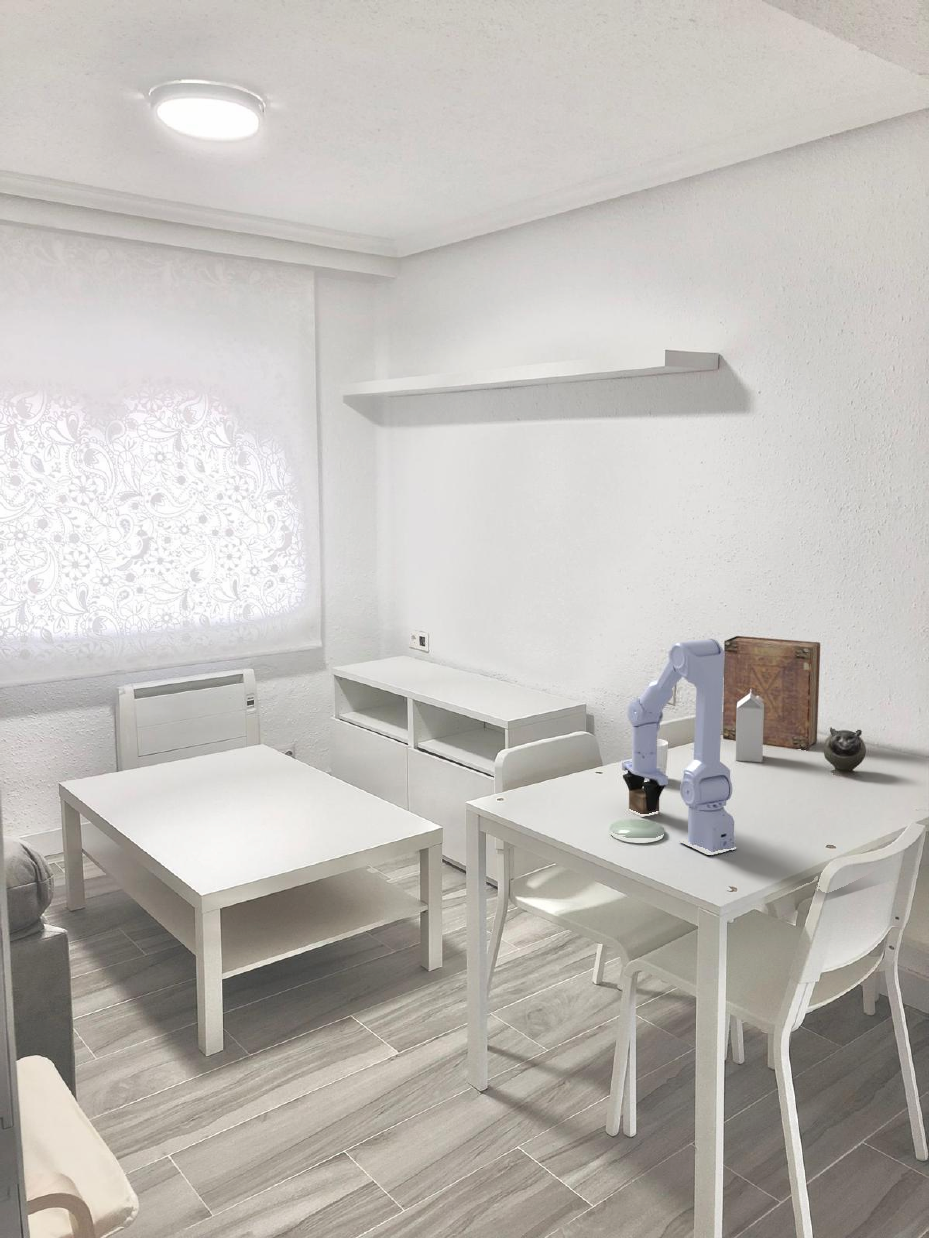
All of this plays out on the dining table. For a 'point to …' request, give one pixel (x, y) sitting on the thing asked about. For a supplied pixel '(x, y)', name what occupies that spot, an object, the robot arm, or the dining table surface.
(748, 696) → the milk carton
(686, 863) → the dining table surface
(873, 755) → the dining table surface
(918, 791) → the dining table surface
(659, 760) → the white cup
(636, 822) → the pale green domed disc
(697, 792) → the robot arm
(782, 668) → the book
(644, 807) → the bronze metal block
